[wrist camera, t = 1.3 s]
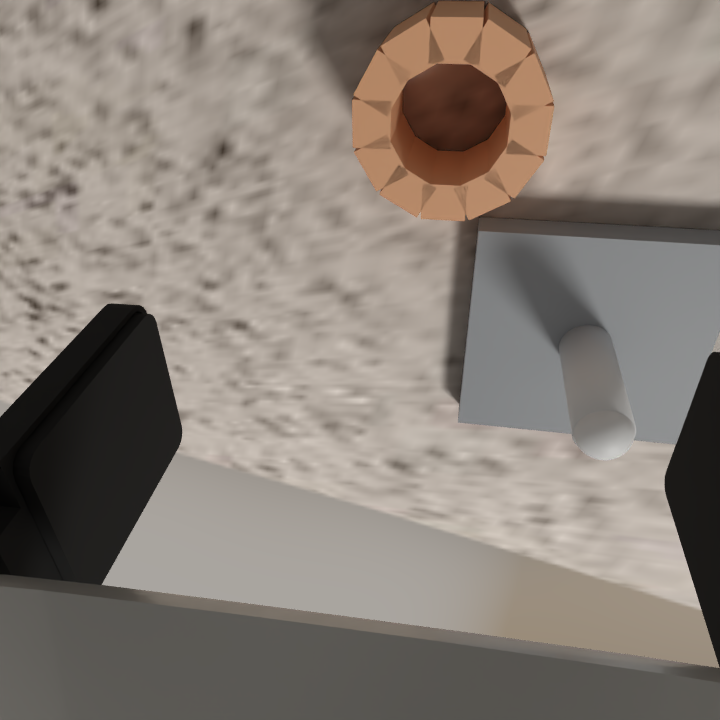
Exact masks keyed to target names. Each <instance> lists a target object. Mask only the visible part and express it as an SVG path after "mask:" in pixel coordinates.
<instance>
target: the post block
mask: <svg viewBox="0 0 720 720" xmlns="http://www.w3.org/2000/svg"><path fill="white" fill-rule="evenodd" d="M719 332H720V231H719V230H701V229H683V228H665V227H648V226H630V225H612V224H594V223H577V222H559V221H541V220H523V219H506V218H488V217H479V224H478V233H477V242H476V252H475V261H474V271H473V280H472V289H471V299H470V308H469V317H468V327H467V336H466V345H465V355H464V364H463V373H462V383H461V392H460V402H459V416H458V422H459V423H469V424H479V425H489V426H499V427H509V428H518V429H528V430H538V431H548V432H558V433H568V434H572V438H573V441H574V442H575V444H576V445H577V446H578V447H579V448H580V450H581V451H583V452H584V453H585V454H586V455H588V456H590V457H592V458H594V459H598V460H612V459H616V458H618V457H620V456H622V455H623V454H625V453H626V452H627V451H628V450H629V449H630V447H631V445H632V443H633V441H634V440H637V441H647V442H657V443H667V444H676V442H677V440H678V437H679V435H680V432H681V430H682V427H683V424H684V422H685V419H686V416H687V413H688V411H689V408H690V405H691V402H692V400H693V397H694V394H695V391H696V389H697V386H698V383H699V380H700V378H701V375H702V372H703V369H704V367H705V364H706V361H707V359H708V357H709V355H710V354H711V352H712V350H713V347H714V345H715V342H716V340H717V337H718V334H719Z"/></svg>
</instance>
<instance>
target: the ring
mask: <svg viewBox="0 0 720 720" xmlns="http://www.w3.org/2000/svg"><path fill="white" fill-rule="evenodd" d="M435 64H471V65H472V66H474V67H475V68H477V69H478V70H480V71H481V72H483V73H484V74H486V75H487V76H488V77H490V78H491V79H493V80H494V81H496V82H497V83H498V84H499V86H500V89H501V91H502V93H503V95H504V98H505V100H506V102H507V104H506V112H505V116H504V118H503V119H502V120H501V122H500V123H499V125H498V126H497V128H496V129H495V130H494V132H493V133H492V135H491V136H490V138H489V139H488V140H486V141H484V142H482V143H480V144H478V145H476V146H474V147H472V148H470V149H468V150H466V151H464V152H463V151H439V150H436V149H434V148H433V147H431V146H430V145H428V144H426V143H425V142H423V141H422V140H420V139H419V138H417V137H416V136H415V135H414V133H413V131H412V129H411V128H410V126H409V124H408V122H407V120H406V118H405V116H404V114H403V112H402V109H403V88H404V86H405V84H406V83H407V81H408V80H409V79H411V78H413V77H415V76H416V75H418V74H420V73H422V72H423V71H425V70H427V69H428V68H430V67H432V66H434V65H435ZM353 95H354V98H353V99H352V128H353V148H356V149H355V151H354V153H355V155H356V156H357V158H358V160H359V162H360V163H361V165H362V167H363V169H364V170H365V172H366V174H367V176H368V177H369V179H370V181H371V183H372V185H373V186H374V188H375V190H376V191H378V190H380V189H381V192H380V194H379V195H381V196H383V197H384V198H386V199H388V200H389V201H391V202H392V203H394V204H396V205H397V206H399V207H401V208H402V209H404V210H405V211H407V212H409V213H410V214H412V215H414V216H415V217H417V216H418V215H419V213H420V212H421V219H434V220H452V221H465V213H466V215H467V217H468V219H469V220H471V219H473V218H475V217H478V216H480V215H482V214H484V213H486V212H489V211H491V210H493V209H495V208H497V207H500V206H502V205H504V204H506V203H508V202H511V197H513V198H514V199H515V197H516V196H517V195H518V193H519V192H520V191H521V190H522V188H523V187H524V186H525V184H526V183H527V182H528V181H529V179H530V178H531V177H532V175H533V174H534V173H535V172H536V170H537V169H538V168H539V166H540V165H541V164H542V163H543V161H544V157H543V156H546V154H547V148H548V142H549V135H550V129H551V123H552V117H553V111H554V104H553V101H554V100H553V97H552V94H551V90H550V87H549V84H548V81H547V78H546V74H545V72H544V69H543V67H542V64H541V62H540V59H539V57H538V54H537V52H536V49H535V47H534V44H533V42H532V39H531V37H530V34H529V32H528V33H527V30H526V28H524V27H523V26H522V25H520V24H519V23H517V22H516V21H514V20H513V19H512V18H510V17H509V16H507V15H506V14H504V13H503V12H502V11H500V10H499V9H497V8H496V7H495V6H493V5H492V4H490V3H488V5H487V6H486V8H485V10H484V1H438V3H437V5H435V3H434V2H433V3H432V4H430V5H429V6H427V7H425V8H424V9H422V10H421V11H419V12H417V13H416V14H414V15H413V16H411V17H409V18H408V19H406V20H405V21H403V22H401V23H400V24H398V25H397V26H395V27H394V28H393V30H391V32H390V33H389V34H388V36H387V37H386V38H385V40H384V41H383V43H382V44H381V45H380V47H379V48H378V49H377V51H376V53H375V55H374V57H373V59H372V60H371V62H370V64H369V66H368V68H367V70H366V72H365V74H364V75H363V77H362V79H361V81H360V83H359V85H358V87H357V89H356V90H355V92H354V94H353ZM510 196H511V197H510Z"/></svg>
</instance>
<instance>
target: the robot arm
mask: <svg viewBox="0 0 720 720" xmlns="http://www.w3.org/2000/svg"><path fill="white" fill-rule="evenodd" d="M181 439H182V425H181V421H180V417H179V413H178V409H177V405H176V401H175V397H174V393H173V389H172V385H171V380H170V376H169V372H168V368H167V364H166V360H165V356H164V352H163V348H162V344H161V340H160V336H159V331H158V327H157V323H156V320H155V318H154V316H153V315H151V314H147V312H146V310H145V309H144V308H143V307H142V306H140V305H126V304H107V305H106V306H105V307H104V308H103V309H102V310H101V311H100V312H99V313H98V314H97V315H96V316H95V317H94V318H93V319H92V320H91V321H90V322H89V324H88V325H87V326H86V327H85V328H84V329H83V330H82V331H81V332H80V333H79V334H78V335H77V336H76V337H75V338H74V339H73V341H72V342H71V343H70V344H69V345H68V346H67V347H66V348H65V349H64V350H63V351H62V352H61V353H60V354H59V355H58V356H57V357H56V359H55V360H54V361H53V362H52V363H51V364H50V365H49V366H48V367H47V368H46V369H45V370H44V371H43V372H42V373H41V374H40V375H39V377H38V378H37V379H36V380H35V381H34V382H33V383H32V384H31V385H30V386H29V387H28V388H27V389H26V390H25V391H24V392H23V393H22V395H21V396H20V397H19V398H18V399H17V400H16V401H15V402H14V403H13V404H12V405H11V406H10V407H9V409H7V411H6V412H5V413H4V414H3V415H2V416H1V417H0V720H720V668H714V667H708V666H701V665H695V664H688V663H682V662H675V661H668V660H662V659H656V658H649V657H642V656H635V655H628V654H620V653H613V652H606V651H599V650H592V649H584V648H577V647H570V646H562V645H555V644H548V643H540V642H533V641H526V640H519V639H511V638H504V637H497V636H489V635H482V634H475V633H468V632H460V631H453V630H445V629H438V628H430V627H423V626H415V625H408V624H400V623H391V622H385V621H377V620H370V619H362V618H355V617H347V616H339V615H332V614H323V613H316V612H309V611H301V610H293V609H286V608H278V607H271V606H263V605H255V604H247V603H240V602H232V601H224V600H216V599H207V598H200V597H191V596H184V595H176V594H168V593H160V592H152V591H145V590H136V589H129V588H121V587H113V586H105V585H102V583H103V581H104V579H105V578H106V576H107V574H108V572H109V570H110V569H111V567H112V565H113V563H114V562H115V560H116V558H117V556H118V554H119V553H120V551H121V549H122V547H123V546H124V544H125V542H126V540H127V538H128V536H129V535H130V533H131V531H132V529H133V528H134V526H135V524H136V522H137V521H138V519H139V517H140V515H141V513H142V512H143V510H144V508H145V506H146V505H147V503H148V501H149V499H150V497H151V496H152V494H153V492H154V490H155V488H156V487H157V485H158V483H159V481H160V480H161V478H162V476H163V474H164V473H165V471H166V469H167V467H168V465H169V464H170V462H171V460H172V458H173V456H174V455H175V453H176V451H177V449H178V448H179V445H180V443H181ZM665 492H666V496H667V500H668V503H669V506H670V509H671V513H672V516H673V519H674V522H675V525H676V529H677V532H678V535H679V538H680V542H681V545H682V548H683V551H684V554H685V558H686V561H687V564H688V567H689V570H690V574H691V577H692V580H693V583H694V587H695V590H696V593H697V596H698V599H699V603H700V606H701V609H702V612H703V616H704V619H705V622H706V625H707V628H708V631H709V635H710V638H711V641H712V644H713V648H714V651H715V654H716V657H717V661H718V664H719V667H720V352H713V353H711V354H710V355H709V357H708V359H707V361H706V364H705V367H704V369H703V372H702V375H701V378H700V380H699V383H698V386H697V389H696V391H695V394H694V397H693V400H692V402H691V405H690V408H689V411H688V413H687V416H686V419H685V422H684V424H683V427H682V430H681V433H680V435H679V438H678V441H677V444H676V446H675V449H674V452H673V454H672V457H671V460H670V463H669V465H668V468H667V471H666V475H665Z"/></svg>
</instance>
